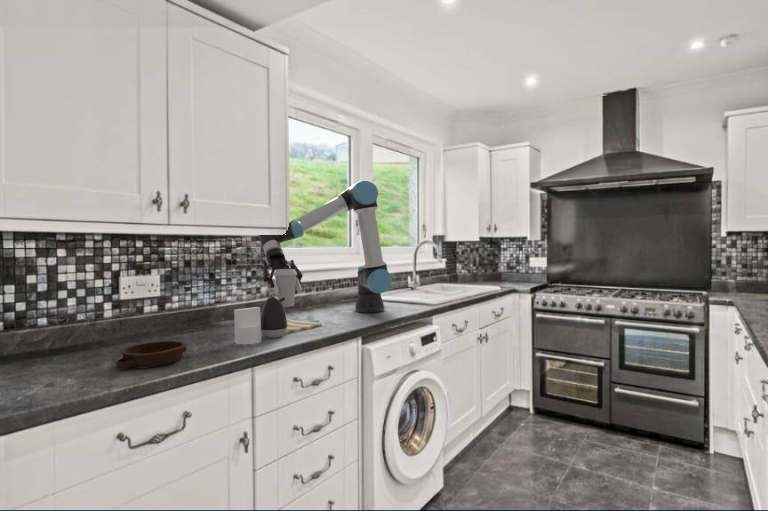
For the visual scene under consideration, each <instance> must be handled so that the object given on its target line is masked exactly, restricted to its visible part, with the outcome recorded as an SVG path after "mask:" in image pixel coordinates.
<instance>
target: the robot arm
mask: <svg viewBox="0 0 768 511" xmlns="http://www.w3.org/2000/svg"><path fill="white" fill-rule="evenodd" d="M376 185H377V184H375V183H374V182H372V181H371V180H367V179H363V180H359V181H356V182H355V183H353V184H352V185H350V186H349V187H348V188H346V190H344V191H342V192H340V193H338V194H337V197H335V198H334V199H331V200H329V201H328V202H326V203H324V204H321V205H320V206H317V207H316V208H315V209H312V210H309V211H308V212H307V213H305V214H303V215H301V216H298V217H297V218H295V219H293V220H291V221H289V222H290V223H289V222H288V223H289V227H288V230H287V231H286V233H285V234H286V235H285V234H283V235H258V238H259V241H260V244H261V246H262V247H261V248H262V250H263V253H264V255H265V258H266V260H267V261H266V260H263V261H262V264H261V267H262V270H263V271H262V272H263V273H262V274H263V275H262V276H263V277H262V278H263V280H262V281H263V282H264V283H266V282H267V284H269V287H270V288H271V289H273V292H274V296H277V294H278V292H279V290H278V287H277V284H276V280H275V278H274V276H275V275H274V273H275V271H276V270H278V269H295V270H296V272H297V275H296V285H295V289H296V291H297V292H298V294H301V293H302V290H303V287H302V281H301V280H302V279H303V276H304V275H303V273H302V271H300V269H299V268H298V267H297V265H296V264H295V261H294V260H293V259H291V260H290V261H289V260H287V259H286V256H285V253H284V250H283V248H282V245H281V243H284V242H288V241H291V240H295V239H298V238H302V237H303V236H304V233H305V232H308V231H309V230H311V229H313V228H314V227H316V226H319V225H320V224H322V223H324V222H325V221H328V220H330V219H332V218H333V217H336V216H337V215H339V214H341V213H343V212H345V213H346V212H349V211H351V210H353V212H355V213H356V214H357V218H358V219H357V220H358V226H359V234H360V238H361V243H362V244H361V245H362V250H363V257H364V264H363V265H361V266H358V268H357V291H358V292H357V294H358V295H357V298H356V302H355V306H354V311H355V312H356V313H357V312H358V313H379V312H384V311H385V304H384V301H383V298H382V293H385V292H387V291H388V290H389V289H390V288H391V285H392V281H393V278H392V274H391V273H390V272H389V271H388V265H387V262H386V261H384V260H383V253H382V247H381V239H380V234H379V227H378V223H377V222H378V220H377V215H376V211H377V209H378V202H377V200H378V197H379V190H378V187H377V186H376ZM268 266H269V267H270V268H272V269H271V271H270V275H269V273H268V269H269V268H268Z"/></svg>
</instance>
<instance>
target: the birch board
mask: <svg viewBox="0 0 768 511" xmlns="http://www.w3.org/2000/svg"><path fill="white" fill-rule="evenodd" d="M322 326H323V323H321V322H313V321H312V322H311V321H303V320H296V319H287V328H286V332H285V334H284V335H289V334H292V333H298V332H302V331H306V330H310V329H315V328H318V327H319V328H320V327H322Z"/></svg>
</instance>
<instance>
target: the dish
mask: <svg viewBox="0 0 768 511" xmlns="http://www.w3.org/2000/svg"><path fill="white" fill-rule="evenodd" d="M187 345H188V343H186V342H183V341H178V340H175V341H174V340H173V341H172V340H167V341H166V340H162V341H161V340H160V341H159V340H158V341H151V342H150V341H149V342H144V343H137V344H134V345H130V346H127V347H125V348H121V349H120V351H119V353H120V354H121V355H122V357H121V358H120V359H118V360H117V361H116V362H115V367H116V368H117V369H128V368H132V367H137V368H136V369H140V368H139V367H152V368H155V367H154V366H159V367H161V366H160V365H164V366H166V365H165V364H168V365H170V364H169V363H171V364H174V363H176V362H178V361H180V359H181V358H182V356H183V354H184V353H185V352H187V349H188V348H187ZM173 362H174V363H173Z"/></svg>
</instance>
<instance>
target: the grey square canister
mask: <svg viewBox="0 0 768 511" xmlns="http://www.w3.org/2000/svg"><path fill="white" fill-rule="evenodd" d="M233 313H234V314H233V315H234V316H233V319H234V344H235V343H236V344H235V345H237V344H251V345H256V344H255V343H257V344H260V343H262V333H261V322H260V317H261V307H259V306H254V307H253V306H252V307H245V308H237V309H233ZM259 342H260V343H259Z"/></svg>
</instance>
